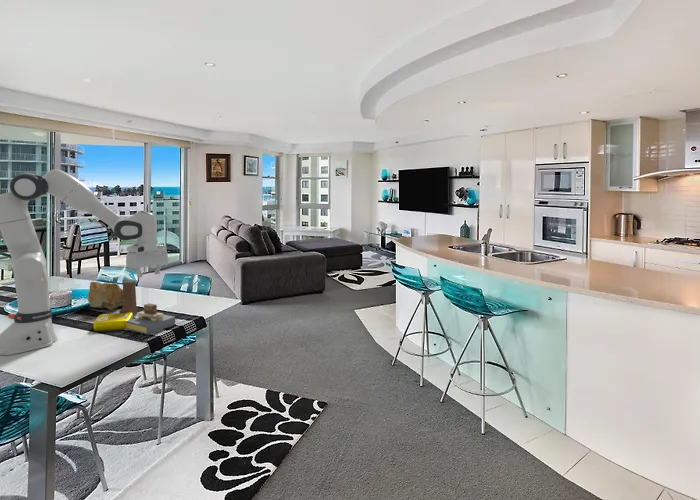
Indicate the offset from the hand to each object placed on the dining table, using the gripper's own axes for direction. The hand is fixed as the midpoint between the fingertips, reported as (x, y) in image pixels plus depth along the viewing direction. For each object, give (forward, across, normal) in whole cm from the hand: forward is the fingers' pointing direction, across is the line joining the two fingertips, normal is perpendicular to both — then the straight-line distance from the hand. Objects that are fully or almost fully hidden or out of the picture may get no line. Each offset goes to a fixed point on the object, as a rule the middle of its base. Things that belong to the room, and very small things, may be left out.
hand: (148, 275), depth 208 cm
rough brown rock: (+26, -12, -48) cm, 56 cm away
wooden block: (+26, -5, -24) cm, 35 cm away
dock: (+25, 0, 0) cm, 25 cm away
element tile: (+26, +7, -18) cm, 32 cm away
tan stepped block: (+21, 0, 0) cm, 21 cm away
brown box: (+18, 0, 0) cm, 18 cm away
